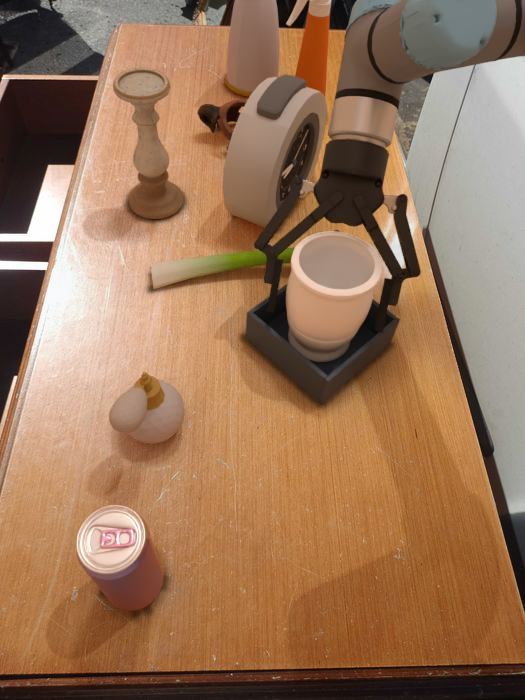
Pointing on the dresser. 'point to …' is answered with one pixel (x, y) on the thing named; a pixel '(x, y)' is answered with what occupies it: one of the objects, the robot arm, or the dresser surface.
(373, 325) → the tray
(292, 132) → the alarm clock
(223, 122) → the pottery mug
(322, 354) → the jar
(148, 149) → the candle holder
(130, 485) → the dresser surface
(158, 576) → the beverage can
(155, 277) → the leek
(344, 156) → the robot arm
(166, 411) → the perfume bottle
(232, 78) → the soap bottle
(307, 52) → the spray bottle
